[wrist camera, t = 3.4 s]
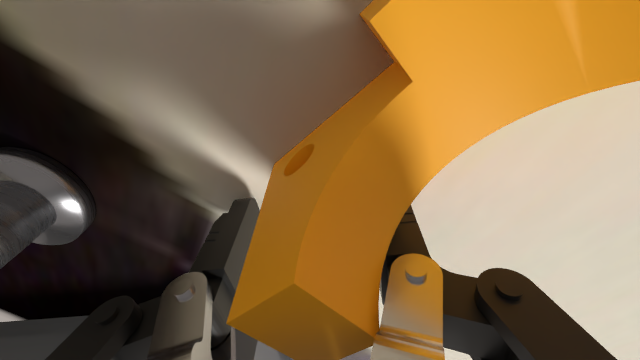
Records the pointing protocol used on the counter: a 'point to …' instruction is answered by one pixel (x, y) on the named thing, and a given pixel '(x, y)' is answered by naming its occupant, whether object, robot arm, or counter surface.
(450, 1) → the pipe clamp
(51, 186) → the door knob
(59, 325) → the parts bin
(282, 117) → the counter surface
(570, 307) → the counter surface
